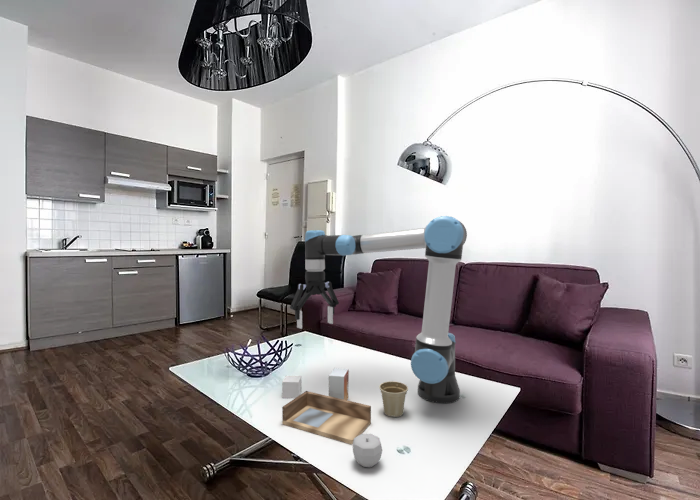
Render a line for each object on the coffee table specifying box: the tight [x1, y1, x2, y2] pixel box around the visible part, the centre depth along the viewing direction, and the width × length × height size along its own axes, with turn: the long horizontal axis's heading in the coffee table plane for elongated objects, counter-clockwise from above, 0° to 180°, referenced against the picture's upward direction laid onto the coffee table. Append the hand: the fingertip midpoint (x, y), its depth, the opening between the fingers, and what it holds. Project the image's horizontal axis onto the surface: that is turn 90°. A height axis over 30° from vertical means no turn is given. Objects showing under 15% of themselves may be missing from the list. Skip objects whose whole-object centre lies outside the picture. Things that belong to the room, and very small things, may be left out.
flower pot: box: [378, 380, 409, 418], centre depth 114 cm, size 9×9×9 cm
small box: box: [328, 367, 350, 400], centre depth 122 cm, size 8×6×10 cm
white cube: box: [281, 375, 302, 399], centre depth 128 cm, size 6×6×6 cm
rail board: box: [281, 390, 372, 446], centre depth 107 cm, size 24×13×5 cm, turn 63°
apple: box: [352, 433, 383, 468], centre depth 88 cm, size 8×8×7 cm
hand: (315, 325), depth 134 cm, fingers open, 13 cm apart
